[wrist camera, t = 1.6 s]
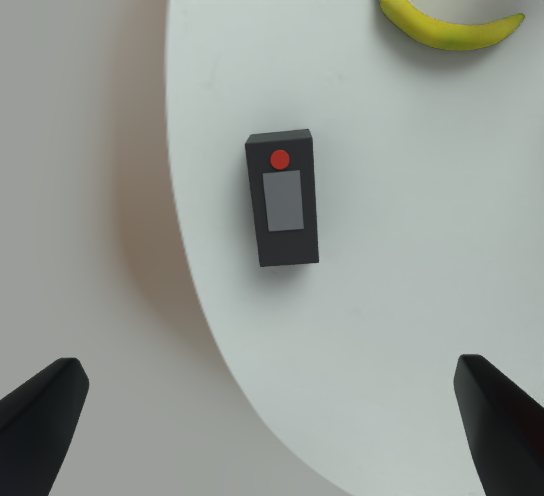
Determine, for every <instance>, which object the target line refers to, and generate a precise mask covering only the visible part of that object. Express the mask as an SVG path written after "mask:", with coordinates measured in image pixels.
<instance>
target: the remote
mask: <svg viewBox="0 0 544 496" xmlns="http://www.w3.org/2000/svg"><path fill="white" fill-rule="evenodd" d="M245 150H246V158H247V166H248V174H249V182H250V190H251V198H252V206H253V214H254V222H255V230H256V238H257V246H258V254H259V262H260V267H266V266H280V265H294V264H308V263H319V252H318V234H317V215H316V196H315V177H314V158H313V139H312V136H311V133H310V131H309V129H303V130H293V131H283V132H272V133H262V134H252V135H250V137H249V138H248V140H247V141H246V143H245Z"/></svg>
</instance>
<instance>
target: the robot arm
mask: <svg viewBox="0 0 544 496" xmlns="http://www.w3.org/2000/svg"><path fill="white" fill-rule="evenodd" d="M88 389H89V379H88V377H87V375H86V373H85V371H84V369H83V367H82V365H81V363H80V361H79V360H78V359H77V358H60V359H57V360H56V361H54V362H53V363H52V364H50V365H49V366H47V367H46V368H45V369H43V370H42V371H40V372H39V373H38V374H36V375H35V376H34V377H32V378H31V379H29V380H28V381H26V382H25V383H24V384H22V385H21V386H19V387H18V388H17V389H15V390H14V391H13V392H11V393H9V394H8V395H7V396H5V397H4V398H2V399H1V400H0V496H48V495H49V492H50V490H51V488H52V485H53V483H54V481H55V479H56V477H57V474H58V472H59V469H60V468H61V465H62V463H63V461H64V458H65V456H66V454H67V451H68V448H69V445H70V443H71V440H72V437H73V434H74V431H75V428H76V425H77V422H78V419H79V417H80V413H81V411H82V408H83V405H84V402H85V399H86V396H87V393H88ZM454 390H455V394H456V398H457V402H458V406H459V409H460V413H461V417H462V421H463V425H464V429H465V433H466V436H467V440H468V444H469V448H470V451H471V455H472V459H473V461H474V464H475V467H476V470H477V473H478V475H479V478H480V481H481V483H482V486H483V489H484V491H485V494H486V496H544V408H543V407H542V406H541V405H540V404H539V403H537V402H536V401H535V400H534V399H533V398H532V397H530V396H529V395H528V394H527V393H526V392H524V391H523V390H522V389H521V388H520V387H519V386H517V385H516V384H515V383H514V382H513V381H511V380H510V379H509V378H508V377H507V376H505V375H504V374H503V373H502V372H501V371H500V370H498V369H497V368H496V367H495V366H494V365H492V364H491V363H490V362H489V361H488V360H487V359H485V358H484V357H483V356H481V355H478V354H463V355H461V356H460V357H459V359H458V363H457V367H456V371H455V376H454Z"/></svg>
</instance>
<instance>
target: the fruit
mask: <svg viewBox="0 0 544 496" xmlns="http://www.w3.org/2000/svg"><path fill="white" fill-rule="evenodd" d="M380 7H381V9H382V11H383V12H384V14H385V15H386V16H387V17H388V18H389V19H390V20H391V21H392V22H393V23H394V24H395V25H396V26H398V27H399V28H400V29H401V30H402V31H404V32H405V33H406V34H408V35H409V36H410V37H412V38H413V39H415V40H417V41H419V42H421V43H423V44H425V45H427V46H430V47H434V48H438V49H444V50H457V51H463V50H474V49H480V48H484V47H487V46H490V45H493V44H495V43H498V42H500V41H501V40H503V39H505V38H506V37H507V36H509V35H510V34H511V33H512V32H513V31H514V30H515V29H516V28H517V27H518V26H519V25H520V23H521V22H522V21H523V19H524V18H525V15H524V14H523V13H519V14H516V15H513V16H510V17H507V18H504V19H501V20H498V21H495V22H492V23H488V24H482V25H460V24H452V23H446V22H442V21H439V20H436V19H433V18H431V17H429V16H427V15H425V14H423V13H421V12H420V11H418V10H417V9H416V8H415V7H414V6H413V5H412V4H411V3H410V2H409V1H408V0H380Z"/></svg>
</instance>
